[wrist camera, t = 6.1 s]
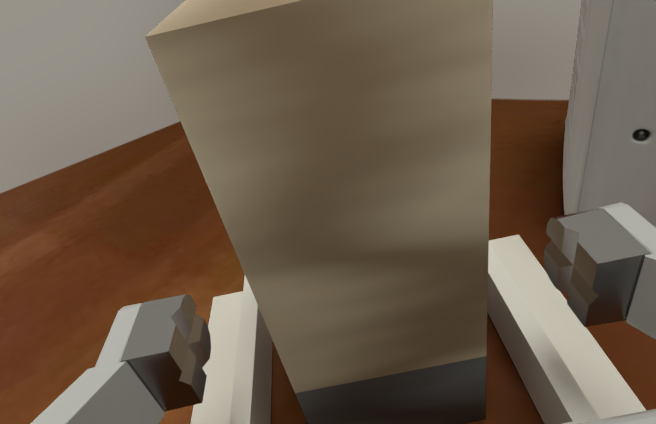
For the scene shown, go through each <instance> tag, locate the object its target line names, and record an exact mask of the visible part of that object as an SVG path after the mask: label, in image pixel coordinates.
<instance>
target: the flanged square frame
mask: <svg viewBox="0 0 656 424" xmlns="http://www.w3.org/2000/svg"><path fill="white" fill-rule="evenodd" d="M487 312H488V314H489V316H490V318H491V320H492V322H493V324H494V326H495V328H496V330H497V332H498V334H499V336H500V338H501V340H502V342H503V344H504V346H505V348H506V350H507V351H508V353H509V355H510V357H511V359H512V361H513V363H514V365H515V367H516V369H517V371H518V373H519V375H520V377H521V379H522V381H523V383H524V385H525V387H526V389H527V391H528V393H529V395H530V397H531V399H532V401H533V403H534V405H535V407H536V409H537V411H538V412H539V414H540V416H541V418H542V420H543V422H544V424H578V423H584V422H589V421H594V420H599V419H605V418H610V417H615V416H621V415H626V414H631V413H636V412H642V411H646V409H645V408H644V406H643V405H642V404H641V402H640V401H639V400H638V398H637V397H636V395H635V394H634V393H633V391H632V390H631V389H630V387H629V386H628V384H627V383H626V382H625V380H624V379H623V378H622V376H621V375H620V373H619V372H618V371H617V369H616V368H615V367H614V365H613V364H612V362H611V361H610V360H609V358H608V357H607V356H606V354H605V353H604V351H603V350H602V349H601V347H600V346H599V345H598V343H597V342H596V340H595V339H594V338H593V336H592V335H591V334H590V332H589V331H588V329H587V328H586V327H584V326H583V325H582V323H581V322H580V321H579V319H578V318H577V317H576V315H575V314H574V312H573V311H572V310H571V308H570V307H569V306H568V304H567V300H566V299H565V298H564V296H563V295H562V294H561V292H560V291H559V290H558V289H556V288H555V286H554V285H553V283H552V282H551V281H550V279H549V276H548V274H547V273H546V272H545V270H544V269H543V267H542V266H541V265H540V263H539V262H538V261H537V259H536V258H535V256H534V255H533V254H532V252H531V251H530V250H529V248H528V247H527V245H526V244H525V243H524V241H523V240H522V239H521V237H520V236H519V235H514V236H509V237H504V238H500V239H495V240H490V241H489V247H488V301H487ZM208 329H209V333H210V338H211V353H210V359H209V360H208V361H207V363H206V364H205V365H204V366H203V368H202V369H203V370H204V372H205V374H206V375H207V378H206V384H205V390H204V396H203V401H202V403H200V404H195V405H194V407H193V413H192V418H191V424H271V387H272V349H273V340H272V337H271V335H270V333H269V330H268V328H267V326H266V323H265V321H264V318H263V316H262V314H261V311H260V309H259V307H258V304H257V302H256V299H255V297H254V295H253V292H252V290H251V288H250V285H249V283H248V280H247V278H246V276H245V279H244V289H243V291H242V292H237V293H232V294H227V295H222V296H217V297H214V298H213V303H212V309H211V314H210V320H209V325H208Z"/></svg>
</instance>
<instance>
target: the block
mask: <svg viewBox="0 0 656 424" xmlns="http://www.w3.org/2000/svg"><path fill="white" fill-rule="evenodd" d="M492 26H493V0H185V1H184V2H183V3H182V4H181V5H180V6H179V7H178V8H176V9H175V10H174V11H173V12H172V13H171V14H170V15H169V16H168V17H166V18H165V19H164V20H163V21H162V22H161V23H160V24H159V25H158V26H157V27H155V28H154V29H153V30H152V31H151V32H150V33H149V34H148V35H147V36H146V37H145V38H146V40H147V43H148V45H149V47H150V50H151V52H152V54H153V57H154V59H155V62H156V64H157V66H158V69H159V71H160V73H161V76H162V78H163V80H164V83H165V85H166V88H167V90H168V93H169V95H170V97H171V100H172V102H173V104H174V107H175V109H176V112H177V114H178V116H179V119H180V121H181V123H182V126H183V128H184V131H185V133H186V135H187V138H188V140H189V142H190V145H191V147H192V150H193V152H194V154H195V157H196V159H197V161H198V164H199V166H200V169H201V171H202V173H203V176H204V178H205V181H206V183H207V185H208V188H209V190H210V192H211V195H212V197H213V200H214V202H215V204H216V207H217V209H218V211H219V214H220V216H221V219H222V221H223V223H224V226H225V228H226V230H227V233H228V235H229V238H230V240H231V242H232V245H233V247H234V249H235V252H236V254H237V257H238V259H239V261H240V264H241V266H242V269H243V271H244V273H245V276H246V278H247V280H248V283H249V285H250V288H251V290H252V292H253V295H254V297H255V299H256V302H257V304H258V307H259V309H260V311H261V314H262V316H263V318H264V321H265V323H266V326H267V328H268V330H269V333H270V335H271V337H272V340H273V342H274V345H275V347H276V349H277V352H278V354H279V356H280V359H281V361H282V364H283V366H284V368H285V371H286V373H287V376H288V378H289V380H290V383H291V385H292V387H293V390H294V392H295V395H296V397H297V399H298V402H299V404H300V406H301V409H302V411H303V414H304V416H305V418H306V421H307V423H308V424H460V423H466V422H471V421H476V420H482V419H485V410H486V355H487V301H488V247H489V193H490V139H491V84H492V83H491V82H492V30H493V29H492V28H493V27H492Z"/></svg>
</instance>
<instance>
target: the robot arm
mask: <svg viewBox="0 0 656 424" xmlns="http://www.w3.org/2000/svg"><path fill="white" fill-rule="evenodd" d="M546 233H547V235H548V236H549V237H550V238H551V241H550V242H549V244H548V245H547V246H546V247H545V248H544V264H545V268H546V272H547V274H548V276H549V279H550V281H551V282H552V283H553V285H554V286H555V288H556V289H558V290H560V291H562V292H564V293H566V294H568V301H567V304H568V306H569V307H570V308H571V310H572V311H573V312H574V314H575V315H576V317H577V318H578V319H579V321H580V322H581V323H582V325H583V326H584V327H589V326H595V325H601V324H606V323H612V322H618V321H624V320H626V323H628V324H630V325H631V326H633V327H635V328H637V329H638V330H640V331H642V332H643V333H645V334H647V335H649V336H650V337H652V338H654V339H655V340H656V228H655V227H654V226H653V225H652V224H651V223H649V222H648V221H647V220H646V219H645V218H643V217H642V216H641V215H640V214H639V213H637V212H636V211H635V210H634V209H633V208H631V207H630V206H629V205H627V204H625V203H622V202H620V203H616V204H611V205H607V206H603V207H598V208H596V209H591V210H586V211H582V212H577V213H572V214H568V215H563V216H559V217H554V218H550V220H549V222H548V223H547V230H546ZM196 306H197V305H196V304H195V302H194V300H193V299H192V297H191V296H190V295H181V296H176V297H170V298H165V299H159V300H154V301H148V302H144V303H140V304H135V305H129V306H124V307H123V308H121V309H120V310H119V311H118V313H117V315H116V318H115V320H114V322H113V325H112V327H111V330H110V332H109V334H108V337H107V339H106V342H105V344H104V346H103V349H102V351H101V354H100V356H99V358H98V361H97V363H96V365H95V367H94V368H90V369H87V370H86V371H85V372H84V373H83V374H82V375H81V376H80V377H79V378H78V379H77V380H76V381H75V382H74V383H73V384H72V385H71V386H70V387H68V388H67V389H66V390H65V391H64V392H63V393H62V394H61V395H60V396H59V397H58V398H57V399H56V400H55V401H54V402H53V403H52V404H51V405H50V406H49V407H47V408H46V409H45V410H44V411H43V412H42V413H41V414H40V415H39V416H38V417H37V418H36V419H35V420H34V421H33V422H32V423H31V424H159V422H160V421H161V419H162V418H163V416H164V415H165V412H164V411H169V410H173V409H178V408H182V407H186V406H191V405H195V404H200V403H202V401H203V396H204V390H205V384H206V378H207V375H206V374H205V372H204V370H203V369H202V368H203V366H204V365H205V364H206V363H207V361H208V360H209V359H210V353H211V338H210V333H209V329H208V326H207V324H206V322H205V320H204V319H203V318H201V317H199V316H198V315H196V314H195V311H196ZM578 424H656V409H652V410H647V411H642V412H636V413H631V414H626V415H621V416H615V417H610V418H605V419H599V420H594V421H589V422H584V423H578Z"/></svg>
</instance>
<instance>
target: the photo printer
mask: <svg viewBox="0 0 656 424" xmlns="http://www.w3.org/2000/svg"><path fill="white" fill-rule="evenodd" d="M563 200H564V215H568V214H572V213H577V212H582V211H586V210H591V209H596V208H598V207H603V206H607V205H611V204H616V203H620V202H622V203H625V204H627V205H629V206H630V207H631V208H633V209H634V210H635V211H636V212H637V213H639V214H640V215H641V216H642V217H643V218H645V219H646V220H647V221H648V222H649V223H651V224H652V225H653V226H654V227H655V228H656V0H582V1H581V9H580V18H579V26H578V34H577V44H576V51H575V59H574V67H573V75H572V82H571V90H570V98H569V105H568V112H567V117H566V120H565V135H564V152H563Z"/></svg>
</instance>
